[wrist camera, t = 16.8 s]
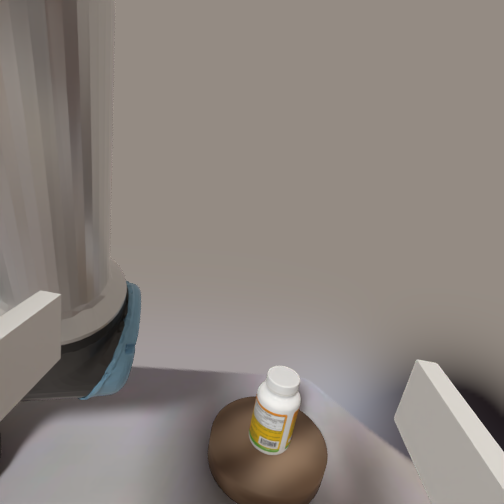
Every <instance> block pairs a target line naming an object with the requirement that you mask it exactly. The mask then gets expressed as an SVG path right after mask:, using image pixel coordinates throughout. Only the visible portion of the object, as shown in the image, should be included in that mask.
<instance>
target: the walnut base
mask: <svg viewBox="0 0 504 504" xmlns="http://www.w3.org/2000/svg"><path fill="white" fill-rule="evenodd" d="M255 400H256V397H246V398H242V399H238V400H236V401H233V402H231V403H230V404H228V405H227V406H225V407H224V408H223V409H222V410H221V411H220V412H219V413H218V415H217V416H216V418H215V420H214V422H213V425H212V429H211V435H210V440H209V446H208V462H209V467H210V470H211V473H212V475H213V477H214V479H215V481H216V482H217V484H218V485H219V487H220V488H221V489H222V490H223V491H224V493H225V494H226V495H228V496H229V497H230V498H231V499H232V500H234V501H235V502H236V503H238V504H308V503H309V502H310V501H311V500H312V499H313V498H314V497H315V495H316V494H317V492H318V489H319V487H320V484H321V481H322V478H323V475H324V471H325V468H326V464H327V448H326V444H325V441H324V438H323V436H322V434H321V432H320V431H319V429H318V428H317V426H316V425H315V424H314V423H313V421H312V420H311V419H310V418H309V417H308V416H306V415H305V414H304V413H303V412H301V411H300V410H299V411H298V415H297V418H296V422H295V425H294V429H293V433H292V437H291V441H290V444H289V447H288V448H287V450H286V451H284V452H283V453H281V454H278V455H268V454H264V453H262V452H260V451H259V450H257V449H256V448H255V447H254V446H253V445H252V443H251V441H250V438H249V428H250V423H251V419H252V414H253V410H254V405H255Z"/></svg>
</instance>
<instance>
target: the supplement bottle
mask: <svg viewBox="0 0 504 504" xmlns="http://www.w3.org/2000/svg"><path fill="white" fill-rule="evenodd" d="M299 384H300V377H299V375H298V374H297V373H296V372H295V371H294V370H292V369H291V368H288V367H285V366H274V367H272V368H270V369H269V371H268V373H267V377H266V381H264V382H263V383H261V385H260V386H259V388H258V391H257V396H256V400H255V405H254V410H253V414H252V419H251V423H250V428H249V438H250V441H251V443H252V445H253V446H254V447H255V448H256V449H257V450H259V451H260V452H262V453H264V454H268V455H278V454H281V453H283V452H284V451H286V450H287V448H288V447H289V444H290V441H291V437H292V433H293V429H294V425H295V422H296V418H297V415H298V411H299V407H300V403H301V397H300V393H299V391H298V389H299Z"/></svg>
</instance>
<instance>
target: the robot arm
mask: <svg viewBox="0 0 504 504" xmlns="http://www.w3.org/2000/svg"><path fill="white" fill-rule="evenodd" d="M114 33H115V0H0V421H1V420H2V419H3V418H4V417H5V416H6V415H7V414H8V413H9V412H10V411H11V410H12V409H13V408H14V407H15V406H16V405H17V403H18V402H19V401H31V400H49V399H67V398H78V399H80V400H86V399H89V398H91V397H95V396H104V395H111V394H114V393H116V392H118V391H119V390H120V389H121V388H122V387H123V386H124V385H125V383H126V381H127V379H128V376H129V374H130V370H131V367H132V363H133V358H134V353H135V344H136V341H137V337H138V331H139V323H140V312H141V293H140V289H139V287H138V286H137V285H136V284H133V283H129V282H128V281H126V279H125V276H124V273H123V272H122V269H121V268H120V266H119V265H118V264H117V263H116V262H115V261H114V260H113V259H112V258H110V238H111V233H110V232H111V186H112V136H113V87H114V86H113V85H114V82H113V81H114V35H115V34H114ZM394 421H395V423H396V425H397V427H398V429H399V432H400V434H401V436H402V439H403V441H404V443H405V445H406V448H407V450H408V452H409V454H410V456H411V459H412V461H413V463H414V466H415V468H416V470H417V472H418V475H419V477H420V479H421V481H422V484H423V486H424V488H425V490H426V493H427V495H428V497H429V499H430V502H431V504H504V452H503V451H502V449H501V448H500V447H499V445H498V444H497V443H496V441H495V440H494V439H493V437H492V436H491V435H490V433H489V432H488V431H487V429H486V428H485V427H484V425H483V424H482V423H481V421H480V420H479V419H478V417H477V416H476V415H475V413H474V412H473V411H472V409H471V408H470V407H469V405H468V404H467V403H466V401H465V400H464V399H463V397H462V396H461V395H460V393H459V392H458V391H457V389H456V388H455V387H454V385H453V384H452V382H451V381H450V380H449V378H448V377H447V376H446V374H445V373H444V372H443V370H442V369H441V368H440V367H439V365H438V364H437V363H433V362H428V361H422V360H416V362H415V365H414V367H413V370H412V372H411V375H410V378H409V380H408V383H407V385H406V388H405V391H404V393H403V396H402V399H401V401H400V404H399V406H398V409H397V412H396V414H395V417H394ZM0 456H1V435H0Z"/></svg>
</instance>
